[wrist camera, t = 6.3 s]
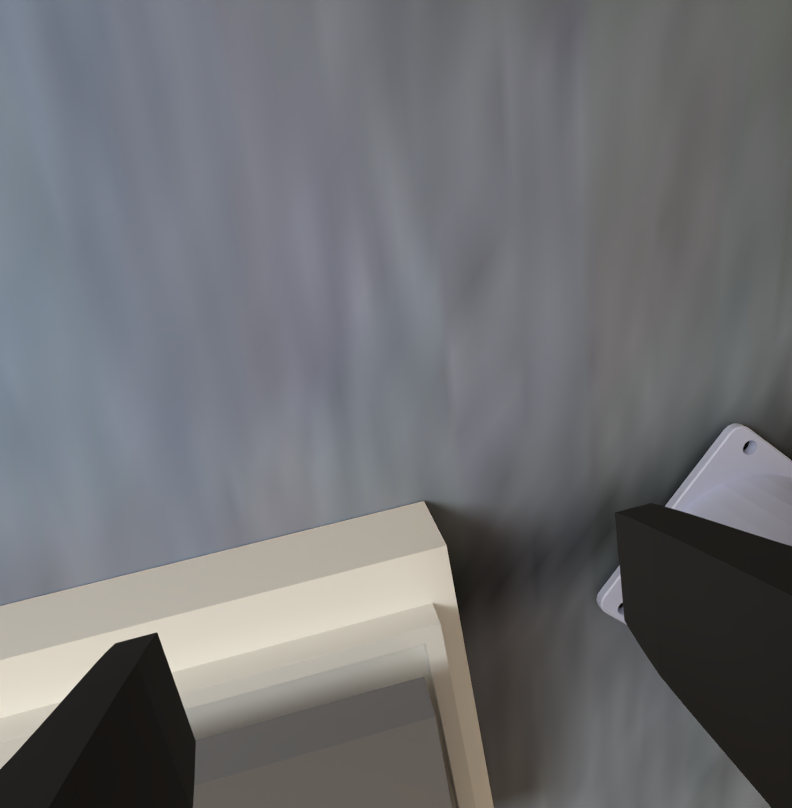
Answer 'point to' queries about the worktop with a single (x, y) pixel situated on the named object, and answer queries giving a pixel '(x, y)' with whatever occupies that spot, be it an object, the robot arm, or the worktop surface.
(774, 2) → the worktop surface
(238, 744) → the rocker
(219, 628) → the rocker switch panel
